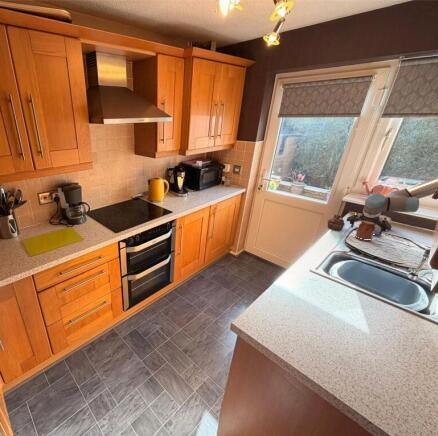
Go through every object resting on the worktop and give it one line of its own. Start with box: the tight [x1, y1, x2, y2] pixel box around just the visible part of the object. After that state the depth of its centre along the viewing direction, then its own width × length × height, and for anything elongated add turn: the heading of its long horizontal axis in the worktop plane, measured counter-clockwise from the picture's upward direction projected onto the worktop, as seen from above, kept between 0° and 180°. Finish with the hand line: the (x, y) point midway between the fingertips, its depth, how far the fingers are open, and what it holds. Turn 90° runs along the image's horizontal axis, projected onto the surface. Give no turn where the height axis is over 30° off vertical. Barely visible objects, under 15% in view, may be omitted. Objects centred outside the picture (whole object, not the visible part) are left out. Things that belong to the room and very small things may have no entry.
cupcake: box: [327, 214, 346, 232], centre depth 162 cm, size 10×10×10 cm
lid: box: [373, 230, 382, 238], centre depth 155 cm, size 8×8×2 cm
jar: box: [354, 221, 377, 242], centre depth 147 cm, size 8×8×12 cm
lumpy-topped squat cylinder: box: [375, 214, 392, 232], centre depth 162 cm, size 10×13×9 cm
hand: (366, 229), depth 147 cm, fingers open, 13 cm apart
